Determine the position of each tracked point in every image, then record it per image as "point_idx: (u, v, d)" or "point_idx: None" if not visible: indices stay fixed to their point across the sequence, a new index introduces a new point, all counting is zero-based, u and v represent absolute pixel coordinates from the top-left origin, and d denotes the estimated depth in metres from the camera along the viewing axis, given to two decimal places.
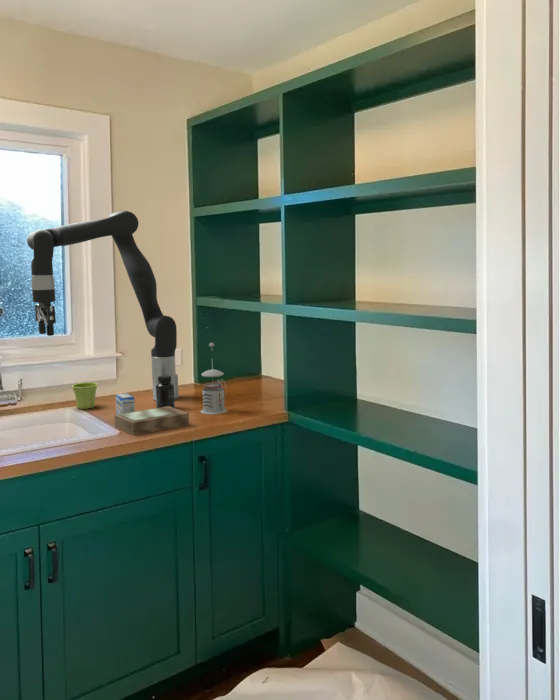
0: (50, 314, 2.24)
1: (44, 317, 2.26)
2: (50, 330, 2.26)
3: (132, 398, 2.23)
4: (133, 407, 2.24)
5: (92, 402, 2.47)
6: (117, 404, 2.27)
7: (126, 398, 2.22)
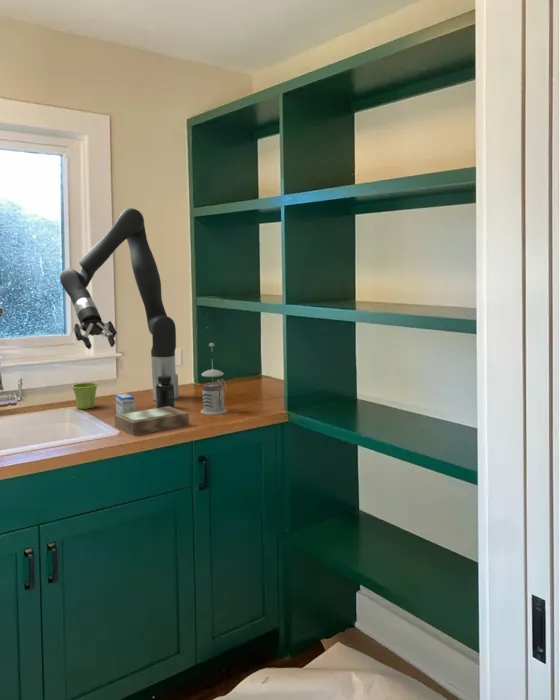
0: (75, 332, 2.33)
1: None
2: (85, 344, 2.31)
3: (132, 398, 2.23)
4: (133, 407, 2.24)
5: (92, 402, 2.47)
6: (117, 404, 2.27)
7: (126, 398, 2.22)
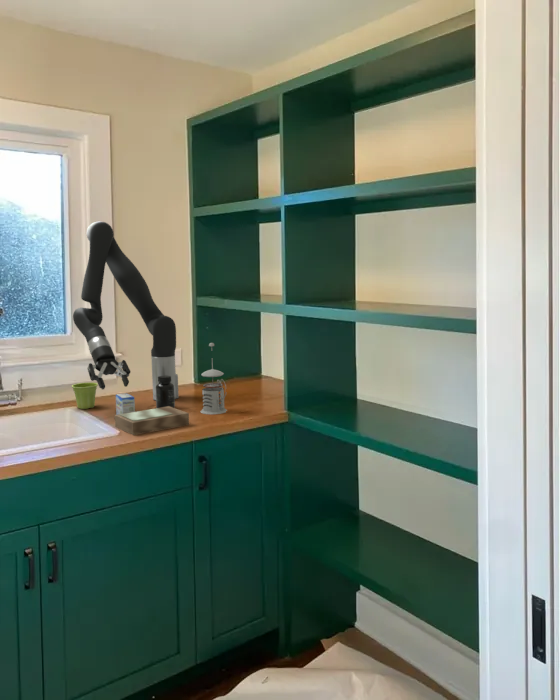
0: (89, 372, 2.31)
1: None
2: (99, 384, 2.29)
3: (132, 398, 2.23)
4: (133, 407, 2.24)
5: (92, 402, 2.47)
6: (117, 404, 2.27)
7: (126, 398, 2.22)
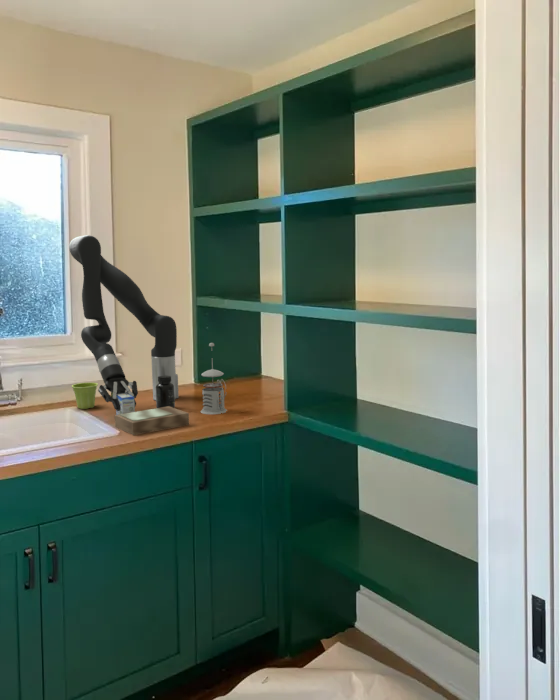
0: (102, 394, 2.26)
1: (111, 397, 2.28)
2: (114, 406, 2.24)
3: (132, 398, 2.23)
4: (133, 407, 2.24)
5: (92, 402, 2.47)
6: None
7: (126, 398, 2.22)
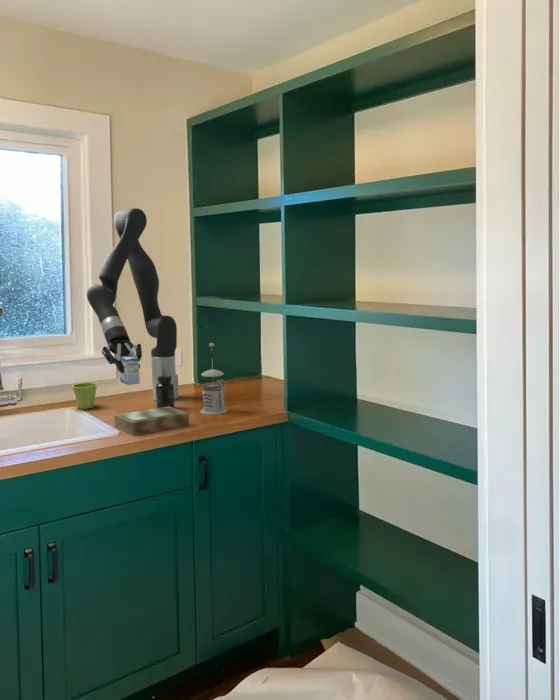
0: (106, 356, 2.20)
1: None
2: (118, 367, 2.18)
3: (136, 360, 2.17)
4: (137, 369, 2.18)
5: (92, 402, 2.47)
6: None
7: (130, 360, 2.16)
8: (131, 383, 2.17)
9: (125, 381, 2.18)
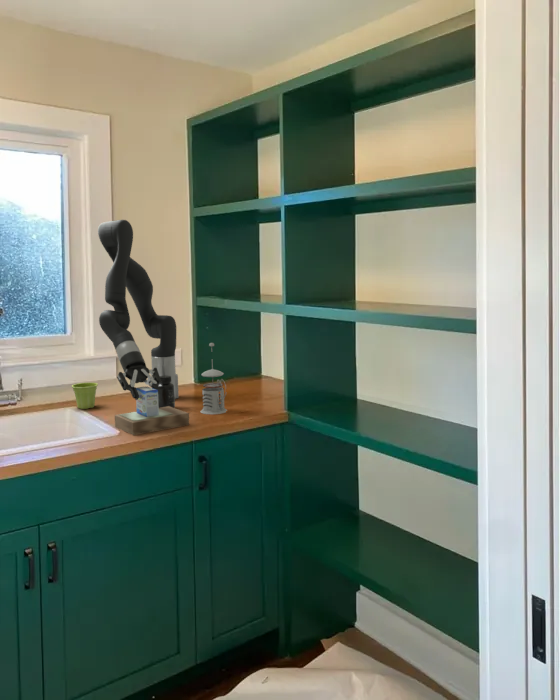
0: (120, 382, 2.14)
1: (129, 385, 2.16)
2: (132, 394, 2.12)
3: (156, 391, 2.12)
4: (157, 400, 2.13)
5: (92, 402, 2.47)
6: (138, 398, 2.15)
7: (150, 391, 2.11)
8: (150, 415, 2.12)
9: (144, 413, 2.13)
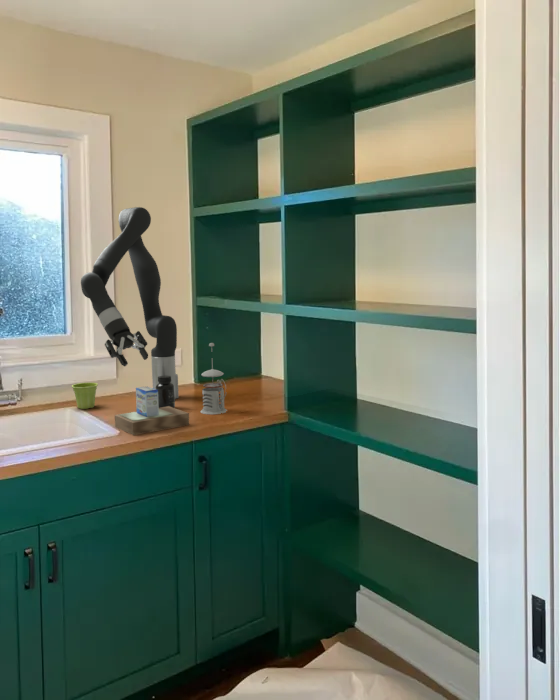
0: (108, 349, 2.23)
1: (116, 351, 2.25)
2: (120, 361, 2.23)
3: (156, 391, 2.12)
4: (157, 400, 2.13)
5: (92, 402, 2.47)
6: (138, 398, 2.15)
7: (150, 391, 2.11)
8: (150, 415, 2.12)
9: (144, 413, 2.13)
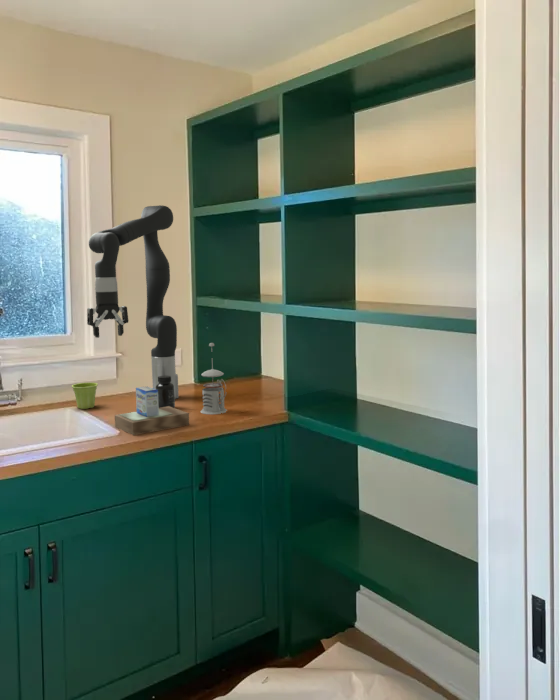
0: (88, 316, 2.27)
1: None
2: (94, 332, 2.29)
3: (156, 391, 2.12)
4: (157, 400, 2.13)
5: (92, 402, 2.47)
6: (138, 398, 2.15)
7: (150, 391, 2.11)
8: (150, 415, 2.12)
9: (144, 413, 2.13)
